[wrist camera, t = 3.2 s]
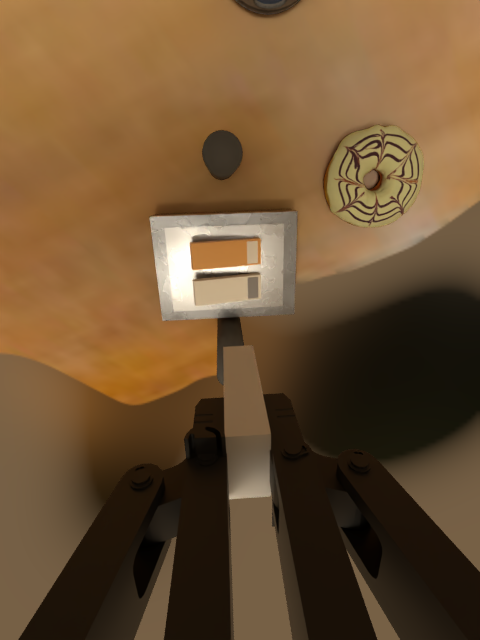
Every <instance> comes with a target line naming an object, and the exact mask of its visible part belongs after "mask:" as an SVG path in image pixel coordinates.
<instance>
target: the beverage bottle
mask: <svg viewBox="0 0 480 640" xmlns="http://www.w3.org/2000/svg"><path fill="white" fill-rule="evenodd" d="M236 1H237V2H238V3H239V4H240V5H242V6H243V7H245V8H246V9H248V10H250V11H253V12H255V13H259V14H267V15H268V14H277V13H280V12H283V11H285V10H288V9H289V8H291V7H292V6H294V5H295V4H297V3H298V2H299V1H300V0H236Z"/></svg>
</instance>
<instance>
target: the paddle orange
mask: <svg viewBox="0 0 480 640" xmlns="http://www.w3.org/2000/svg"><path fill="white" fill-rule="evenodd" d="M189 244H190V256H191V268H192V270H193V271H195V270H205V269H216V268H226V267H237V266H247V265H258V264H261V238H243V239H229V240H216V241H202V242H189Z"/></svg>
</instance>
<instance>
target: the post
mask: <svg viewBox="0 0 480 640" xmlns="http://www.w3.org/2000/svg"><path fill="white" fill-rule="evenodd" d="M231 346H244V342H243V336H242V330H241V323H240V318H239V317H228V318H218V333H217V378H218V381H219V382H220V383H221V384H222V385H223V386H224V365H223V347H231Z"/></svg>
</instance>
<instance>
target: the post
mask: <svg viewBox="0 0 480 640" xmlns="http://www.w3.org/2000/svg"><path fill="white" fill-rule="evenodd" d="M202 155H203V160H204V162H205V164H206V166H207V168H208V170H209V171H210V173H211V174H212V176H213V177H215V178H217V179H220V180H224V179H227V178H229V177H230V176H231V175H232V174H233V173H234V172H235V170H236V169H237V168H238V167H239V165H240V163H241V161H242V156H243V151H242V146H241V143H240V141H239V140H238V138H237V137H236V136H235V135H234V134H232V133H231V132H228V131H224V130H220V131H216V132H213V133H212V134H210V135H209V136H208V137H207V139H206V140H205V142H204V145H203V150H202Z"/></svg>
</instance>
